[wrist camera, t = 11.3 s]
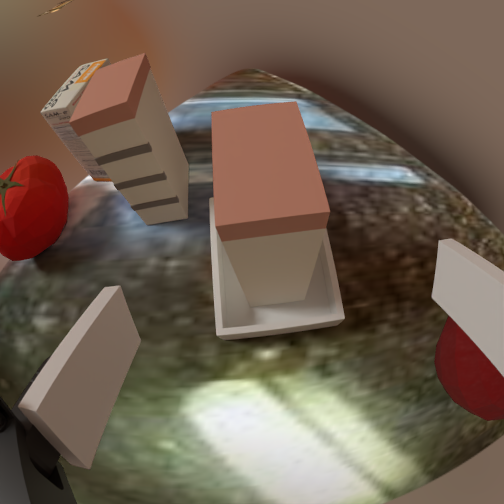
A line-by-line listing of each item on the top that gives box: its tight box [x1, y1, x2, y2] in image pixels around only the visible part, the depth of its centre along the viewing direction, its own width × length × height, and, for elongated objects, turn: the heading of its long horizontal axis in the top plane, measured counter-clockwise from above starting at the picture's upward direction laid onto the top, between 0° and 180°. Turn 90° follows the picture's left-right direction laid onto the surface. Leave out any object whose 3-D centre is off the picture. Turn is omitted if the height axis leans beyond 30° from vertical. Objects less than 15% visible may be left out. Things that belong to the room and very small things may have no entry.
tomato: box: [0, 156, 68, 261], centre depth 26 cm, size 11×13×10 cm
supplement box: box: [41, 59, 112, 181], centre depth 28 cm, size 8×5×13 cm, turn 168°
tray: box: [209, 197, 345, 340], centre depth 25 cm, size 10×12×3 cm
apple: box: [434, 316, 504, 421], centre depth 15 cm, size 11×11×12 cm
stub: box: [212, 102, 330, 307], centre depth 19 cm, size 4×7×14 cm, turn 6°
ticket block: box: [69, 53, 189, 225], centre depth 23 cm, size 5×7×15 cm, turn 6°
